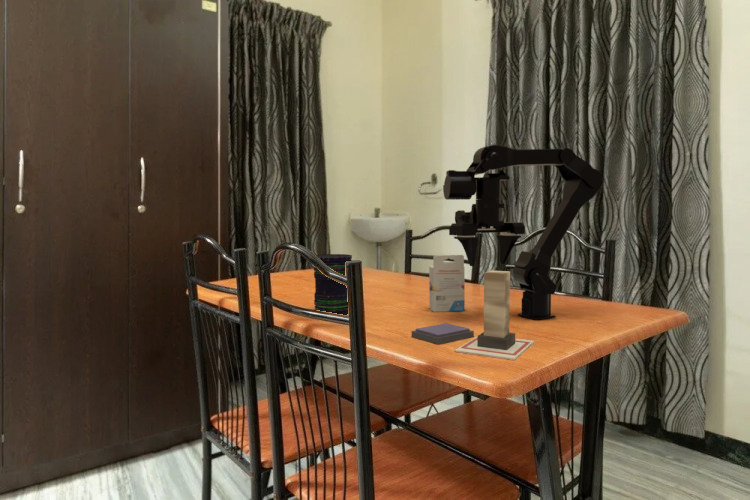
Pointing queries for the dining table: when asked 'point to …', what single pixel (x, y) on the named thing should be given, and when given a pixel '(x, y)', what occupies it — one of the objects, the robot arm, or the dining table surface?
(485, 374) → the dining table surface
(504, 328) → the stamp
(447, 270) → the ink box
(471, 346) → the paper
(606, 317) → the dining table surface
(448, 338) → the ink pad
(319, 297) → the storage jar
